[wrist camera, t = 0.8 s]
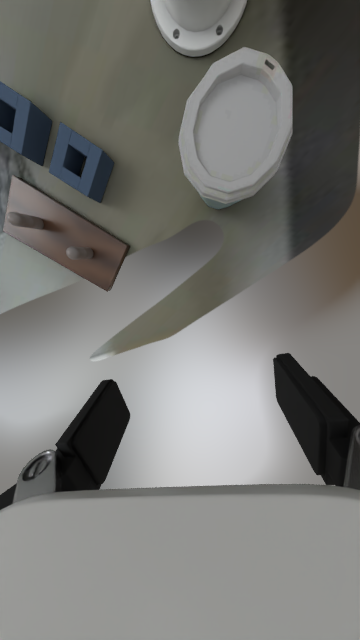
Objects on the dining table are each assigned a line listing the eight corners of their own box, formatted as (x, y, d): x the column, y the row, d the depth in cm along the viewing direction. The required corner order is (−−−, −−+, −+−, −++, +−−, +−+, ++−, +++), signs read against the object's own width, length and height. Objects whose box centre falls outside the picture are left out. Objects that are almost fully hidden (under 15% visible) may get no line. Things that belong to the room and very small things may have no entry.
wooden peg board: (20, 178, 32) (-26, 159, 25) (130, 246, 34) (114, 244, 28) (10, 232, 35) (-32, 227, 29) (110, 290, 38) (92, 298, 31)
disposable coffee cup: (225, 234, 32) (246, 221, 18) (174, 199, 31) (154, 155, 17) (266, 171, 28) (333, 92, 14) (209, 127, 27) (222, -5, 13)
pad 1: (12, 94, 28) (-16, 70, 24) (52, 121, 28) (30, 101, 25) (5, 142, 30) (-22, 127, 26) (42, 166, 31) (21, 154, 27)
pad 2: (77, 138, 29) (60, 121, 25) (114, 162, 30) (102, 150, 26) (66, 181, 31) (48, 172, 28) (100, 203, 32) (87, 196, 28)
